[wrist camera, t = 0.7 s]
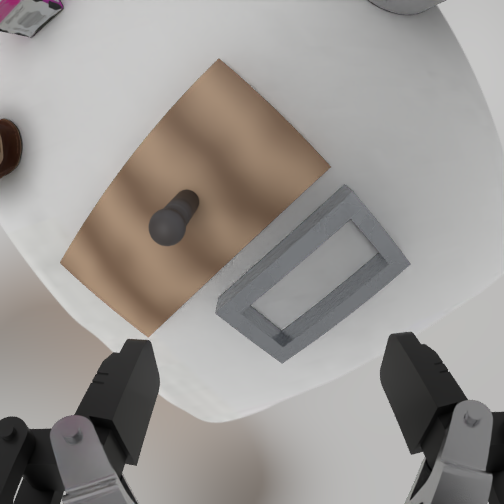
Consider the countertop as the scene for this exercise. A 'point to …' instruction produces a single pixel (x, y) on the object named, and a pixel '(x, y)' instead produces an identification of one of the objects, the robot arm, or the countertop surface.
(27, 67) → the countertop surface
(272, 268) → the grey picture frame
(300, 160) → the board
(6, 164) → the coffee cup
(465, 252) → the countertop surface
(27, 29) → the candy bar box
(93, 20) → the countertop surface
